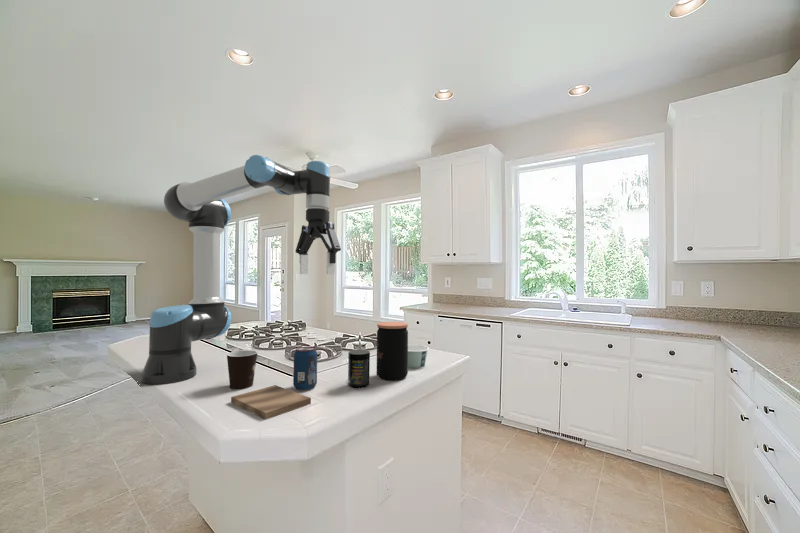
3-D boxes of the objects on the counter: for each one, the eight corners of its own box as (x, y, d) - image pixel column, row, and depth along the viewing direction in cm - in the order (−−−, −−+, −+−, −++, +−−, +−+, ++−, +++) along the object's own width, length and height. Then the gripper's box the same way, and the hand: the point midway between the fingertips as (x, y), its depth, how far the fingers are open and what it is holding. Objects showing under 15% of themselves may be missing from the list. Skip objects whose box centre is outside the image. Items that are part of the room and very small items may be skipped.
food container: (391, 364, 133) (391, 347, 133) (413, 359, 141) (413, 343, 141) (413, 370, 124) (413, 352, 124) (435, 365, 132) (435, 348, 132)
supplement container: (372, 387, 104) (372, 353, 104) (350, 390, 102) (350, 355, 102) (366, 381, 110) (366, 349, 111) (345, 383, 108) (346, 350, 108)
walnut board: (231, 402, 91) (231, 396, 91) (275, 390, 101) (275, 385, 101) (265, 419, 80) (265, 413, 80) (310, 403, 90) (310, 397, 90)
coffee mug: (244, 391, 99) (245, 357, 100) (219, 389, 101) (220, 355, 101) (268, 380, 111) (268, 349, 111) (244, 378, 112) (245, 347, 113)
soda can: (298, 383, 107) (299, 345, 108) (319, 384, 106) (320, 346, 107) (289, 391, 100) (290, 350, 101) (311, 392, 100) (312, 351, 100)
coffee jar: (379, 371, 122) (380, 321, 122) (409, 373, 120) (409, 322, 121) (373, 380, 111) (374, 325, 112) (405, 382, 110) (406, 326, 110)
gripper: (352, 207, 107) (351, 274, 106) (304, 215, 122) (302, 274, 122) (334, 202, 101) (333, 273, 100) (285, 212, 116) (284, 273, 116)
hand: (316, 274), depth 111 cm, fingers open, 13 cm apart
